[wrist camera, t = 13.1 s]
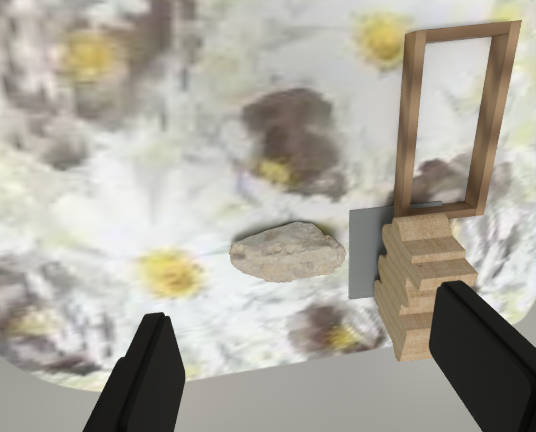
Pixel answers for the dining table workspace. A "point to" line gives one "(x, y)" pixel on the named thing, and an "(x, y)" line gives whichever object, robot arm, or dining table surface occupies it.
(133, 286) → the dining table surface
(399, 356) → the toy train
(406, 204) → the pocket frame
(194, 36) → the dining table surface
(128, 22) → the dining table surface
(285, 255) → the stone
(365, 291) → the slate mat
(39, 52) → the dining table surface
